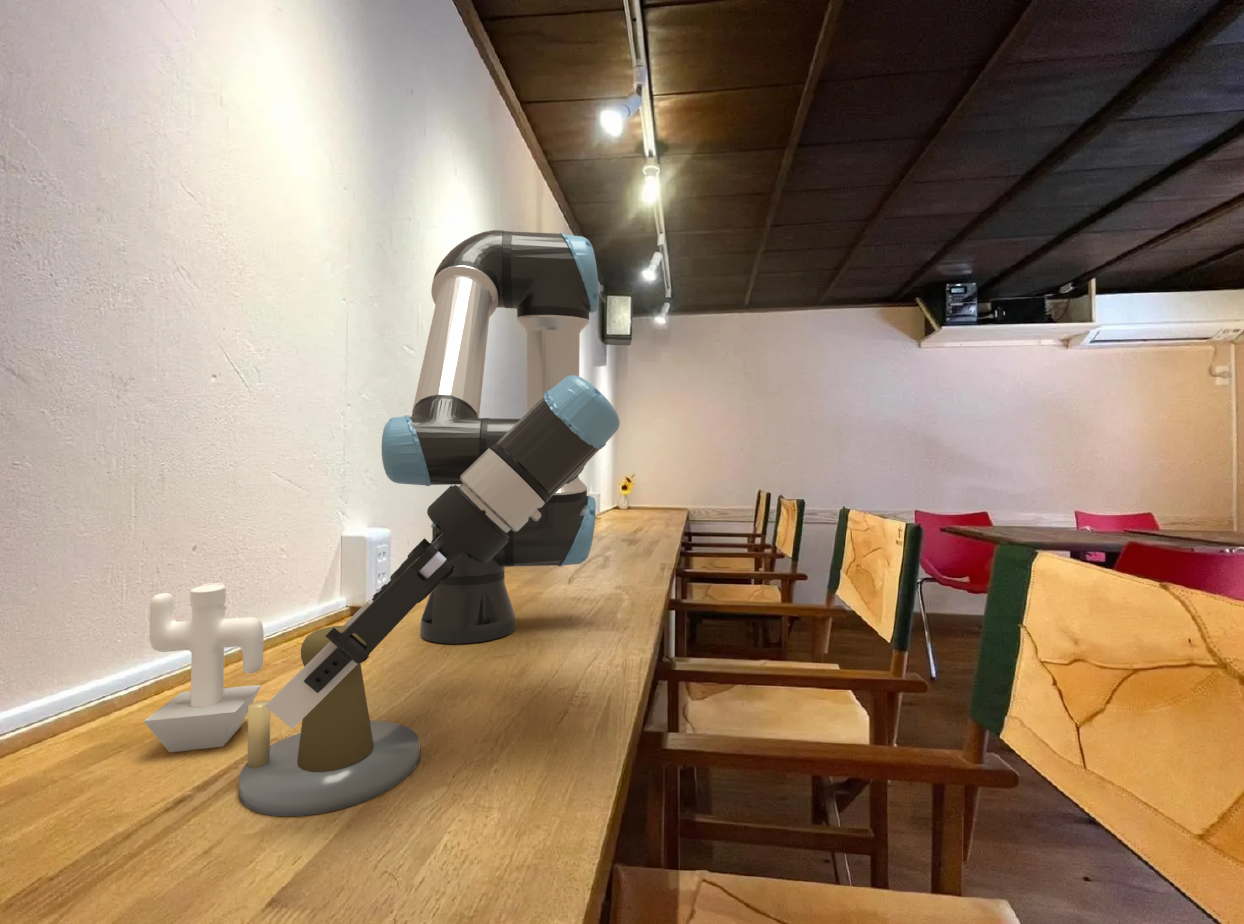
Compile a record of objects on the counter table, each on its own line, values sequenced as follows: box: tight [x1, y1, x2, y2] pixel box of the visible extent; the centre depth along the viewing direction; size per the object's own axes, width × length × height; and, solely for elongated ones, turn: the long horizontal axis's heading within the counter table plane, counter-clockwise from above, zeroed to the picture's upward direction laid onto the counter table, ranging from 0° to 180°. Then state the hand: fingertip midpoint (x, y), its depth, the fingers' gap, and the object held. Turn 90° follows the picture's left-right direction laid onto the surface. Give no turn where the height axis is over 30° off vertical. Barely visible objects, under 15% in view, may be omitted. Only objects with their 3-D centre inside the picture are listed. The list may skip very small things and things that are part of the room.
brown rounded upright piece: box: [297, 625, 374, 772], centre depth 50 cm, size 6×6×11 cm
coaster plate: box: [238, 700, 421, 817], centre depth 50 cm, size 14×14×6 cm
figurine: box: [143, 582, 265, 753], centre depth 56 cm, size 7×9×15 cm
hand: (306, 684), depth 50 cm, fingers open, 13 cm apart
